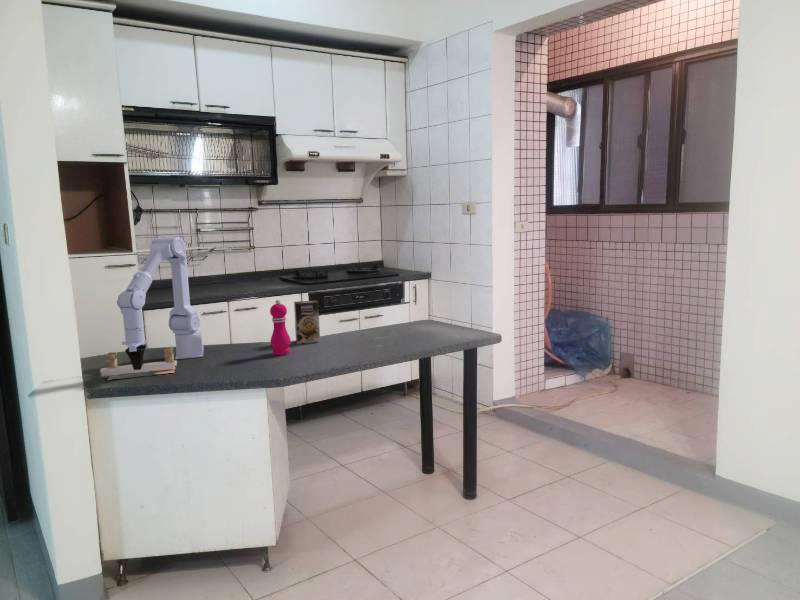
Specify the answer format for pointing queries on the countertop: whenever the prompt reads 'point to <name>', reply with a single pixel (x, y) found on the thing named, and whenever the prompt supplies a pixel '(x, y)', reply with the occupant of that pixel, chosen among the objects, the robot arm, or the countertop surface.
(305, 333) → the coffee box
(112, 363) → the wooden post frame
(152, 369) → the steel rail
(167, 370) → the terracotta mat
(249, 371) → the countertop surface
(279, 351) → the pepper mill
